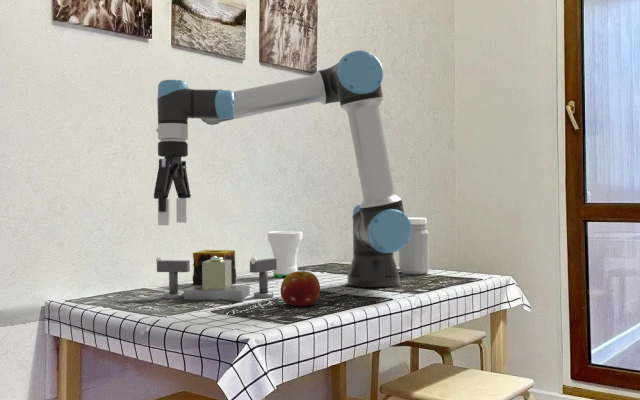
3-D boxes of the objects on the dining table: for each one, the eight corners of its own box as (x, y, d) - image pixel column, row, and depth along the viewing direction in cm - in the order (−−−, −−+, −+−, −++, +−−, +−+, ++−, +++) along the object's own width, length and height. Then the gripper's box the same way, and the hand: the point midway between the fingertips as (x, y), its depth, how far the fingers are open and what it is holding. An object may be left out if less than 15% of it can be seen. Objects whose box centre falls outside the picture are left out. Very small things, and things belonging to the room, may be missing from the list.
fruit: (288, 310, 156) (288, 275, 156) (275, 304, 164) (274, 271, 164) (326, 306, 160) (326, 272, 160) (311, 301, 168) (311, 268, 168)
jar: (408, 270, 229) (407, 217, 228) (434, 272, 223) (434, 217, 223) (393, 273, 221) (393, 218, 220) (420, 275, 215) (420, 219, 215)
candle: (225, 288, 192) (225, 253, 191) (191, 287, 194) (191, 252, 193) (237, 283, 202) (236, 249, 201) (205, 282, 204) (204, 249, 203)
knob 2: (266, 293, 179) (265, 254, 179) (280, 295, 176) (280, 255, 176) (244, 298, 172) (244, 257, 172) (259, 300, 169) (259, 258, 169)
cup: (309, 275, 217) (309, 231, 216) (289, 279, 207) (289, 233, 207) (281, 273, 223) (280, 230, 222) (260, 277, 213) (260, 232, 213)
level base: (249, 294, 178) (249, 254, 178) (241, 300, 169) (241, 257, 169) (194, 294, 180) (194, 254, 180) (183, 299, 171) (183, 257, 171)
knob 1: (191, 296, 176) (191, 256, 176) (185, 299, 171) (185, 257, 171) (160, 295, 177) (159, 255, 177) (153, 298, 172) (152, 257, 172)
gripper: (175, 144, 186) (175, 221, 187) (139, 137, 162) (140, 226, 162) (201, 144, 185) (201, 221, 186) (170, 137, 161) (170, 226, 161)
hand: (173, 224), depth 174 cm, fingers open, 13 cm apart
